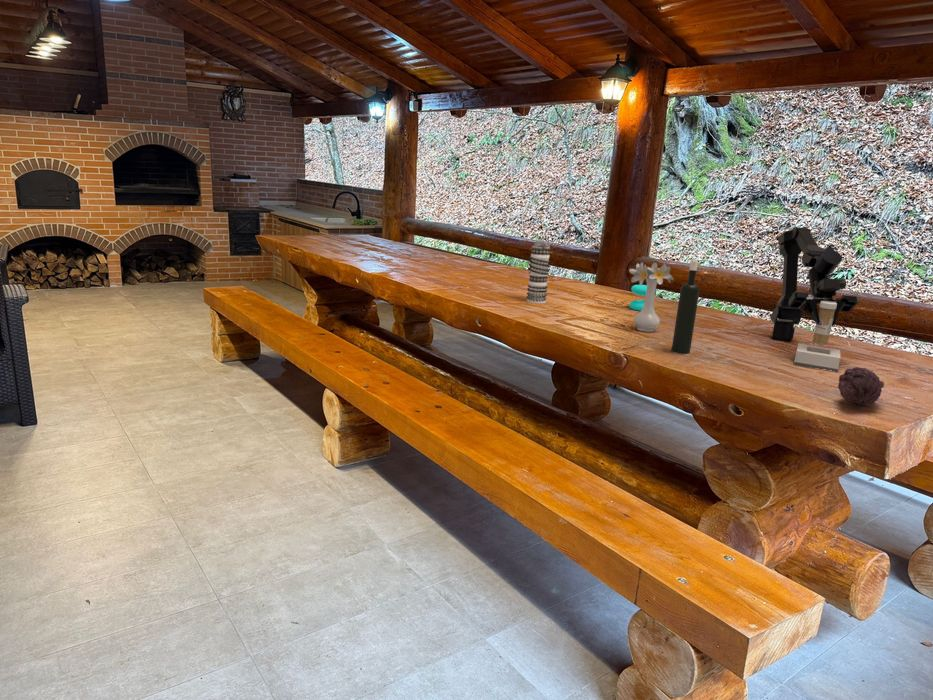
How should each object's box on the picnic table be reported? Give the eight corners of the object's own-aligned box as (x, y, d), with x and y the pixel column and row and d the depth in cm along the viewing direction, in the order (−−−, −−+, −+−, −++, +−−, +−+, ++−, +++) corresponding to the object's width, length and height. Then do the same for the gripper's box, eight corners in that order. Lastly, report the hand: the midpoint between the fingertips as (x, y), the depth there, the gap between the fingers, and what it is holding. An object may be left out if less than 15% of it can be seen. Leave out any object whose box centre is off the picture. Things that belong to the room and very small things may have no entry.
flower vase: (637, 322, 248) (646, 258, 242) (675, 334, 233) (685, 265, 227) (612, 325, 241) (620, 258, 235) (649, 337, 226) (659, 266, 220)
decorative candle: (523, 299, 282) (527, 241, 276) (543, 299, 284) (548, 242, 277) (528, 303, 274) (533, 244, 267) (549, 303, 275) (555, 245, 269)
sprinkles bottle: (809, 342, 202) (817, 300, 199) (816, 341, 205) (824, 299, 201) (824, 346, 199) (833, 303, 195) (830, 344, 202) (840, 302, 198)
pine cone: (863, 418, 157) (872, 379, 154) (820, 405, 164) (828, 368, 161) (887, 404, 168) (896, 368, 165) (846, 393, 175) (854, 358, 173)
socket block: (793, 364, 201) (796, 351, 200) (795, 356, 211) (798, 343, 210) (837, 372, 196) (840, 358, 195) (837, 363, 206) (840, 349, 205)
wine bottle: (691, 351, 211) (705, 259, 203) (687, 354, 206) (702, 261, 198) (673, 348, 213) (687, 257, 205) (669, 351, 209) (683, 259, 201)
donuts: (635, 283, 279) (658, 286, 275) (632, 305, 282) (655, 309, 277) (628, 286, 271) (652, 289, 266) (626, 309, 274) (649, 312, 269)
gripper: (798, 265, 200) (804, 307, 193) (862, 270, 198) (870, 312, 191) (785, 286, 210) (790, 326, 203) (846, 290, 208) (853, 332, 200)
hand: (826, 324), depth 199 cm, fingers closed on sprinkles bottle, 4 cm apart
